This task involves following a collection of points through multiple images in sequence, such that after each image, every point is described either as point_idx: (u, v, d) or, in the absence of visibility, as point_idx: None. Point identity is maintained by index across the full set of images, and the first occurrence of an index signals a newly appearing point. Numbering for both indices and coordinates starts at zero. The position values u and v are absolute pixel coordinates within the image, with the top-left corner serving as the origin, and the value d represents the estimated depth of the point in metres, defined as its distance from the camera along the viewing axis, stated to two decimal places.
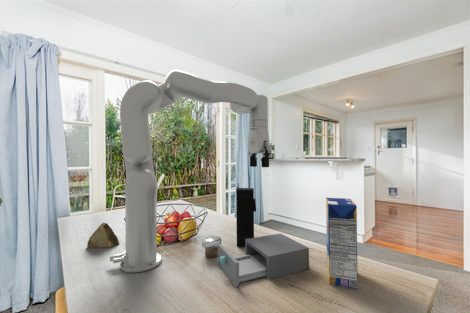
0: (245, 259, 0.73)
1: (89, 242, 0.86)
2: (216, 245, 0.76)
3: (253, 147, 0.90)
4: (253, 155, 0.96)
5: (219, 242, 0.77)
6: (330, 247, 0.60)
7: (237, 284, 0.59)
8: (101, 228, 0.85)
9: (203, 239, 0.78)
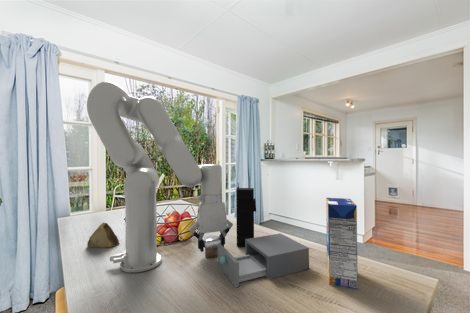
0: (245, 259, 0.73)
1: (89, 242, 0.86)
2: (216, 245, 0.76)
3: (215, 226, 0.76)
4: None
5: (219, 242, 0.77)
6: (330, 247, 0.60)
7: (237, 284, 0.59)
8: (101, 228, 0.85)
9: (203, 239, 0.78)
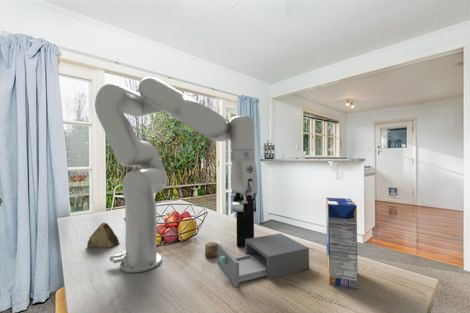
0: (245, 259, 0.73)
1: (89, 242, 0.86)
2: None
3: None
4: None
5: None
6: (330, 247, 0.60)
7: (237, 284, 0.59)
8: (101, 228, 0.85)
9: None
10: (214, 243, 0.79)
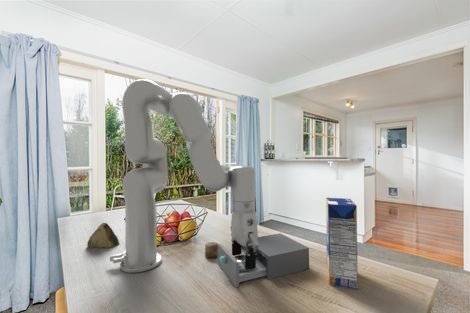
0: None
1: (89, 242, 0.86)
2: None
3: None
4: None
5: None
6: (330, 247, 0.60)
7: (237, 284, 0.59)
8: (101, 228, 0.85)
9: (244, 264, 0.65)
10: (214, 243, 0.79)
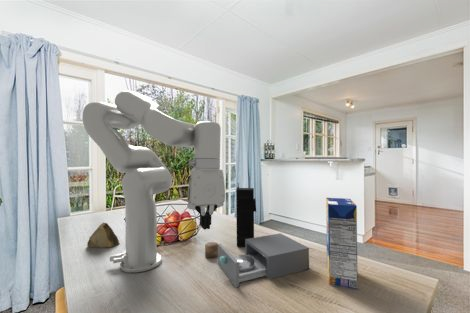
0: None
1: (89, 242, 0.86)
2: None
3: (210, 197, 0.61)
4: None
5: None
6: (330, 247, 0.60)
7: (237, 284, 0.59)
8: (101, 228, 0.85)
9: (245, 264, 0.65)
10: (214, 243, 0.79)
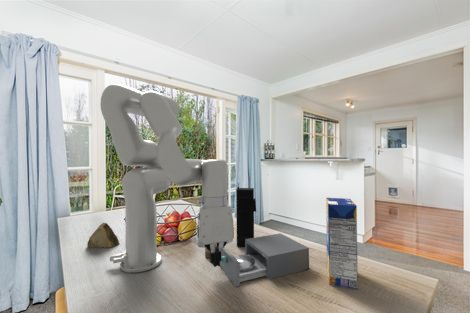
0: None
1: (89, 242, 0.86)
2: None
3: (219, 235, 0.62)
4: None
5: None
6: (330, 247, 0.60)
7: (237, 284, 0.59)
8: (101, 228, 0.85)
9: (246, 264, 0.65)
10: (214, 243, 0.79)
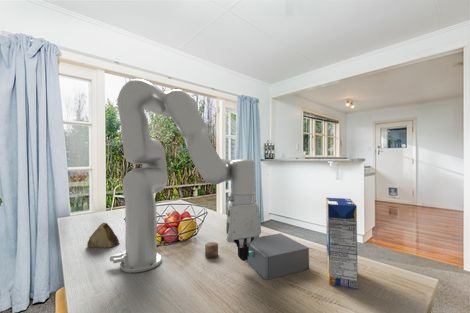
0: None
1: (89, 242, 0.86)
2: None
3: (248, 231, 0.66)
4: None
5: None
6: (330, 247, 0.60)
7: (266, 277, 0.63)
8: (101, 228, 0.85)
9: None
10: (214, 243, 0.79)
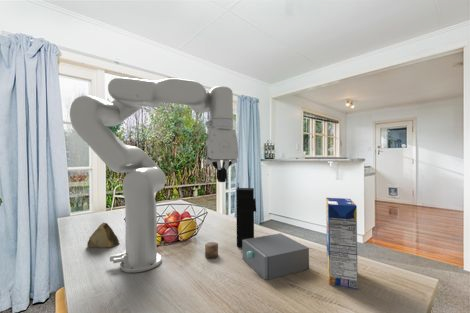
0: None
1: (89, 242, 0.86)
2: None
3: (225, 153, 0.69)
4: None
5: None
6: (330, 247, 0.60)
7: (266, 277, 0.63)
8: (101, 228, 0.85)
9: None
10: (214, 243, 0.79)
